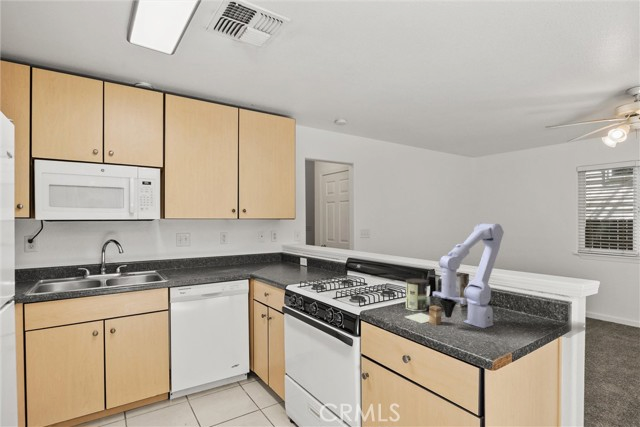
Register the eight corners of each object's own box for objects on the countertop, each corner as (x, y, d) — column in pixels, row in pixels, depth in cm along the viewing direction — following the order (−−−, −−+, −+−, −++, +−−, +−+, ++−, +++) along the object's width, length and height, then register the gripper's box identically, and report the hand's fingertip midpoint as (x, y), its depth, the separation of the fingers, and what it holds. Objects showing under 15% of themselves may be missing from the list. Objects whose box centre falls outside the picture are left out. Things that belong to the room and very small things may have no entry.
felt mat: (438, 319, 154) (438, 318, 154) (422, 323, 147) (422, 322, 147) (420, 313, 162) (420, 312, 162) (404, 317, 156) (404, 316, 156)
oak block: (441, 323, 148) (441, 307, 148) (435, 325, 146) (436, 308, 146) (434, 321, 151) (434, 305, 151) (429, 322, 149) (429, 306, 149)
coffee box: (457, 301, 183) (457, 271, 183) (468, 304, 179) (469, 273, 178) (448, 304, 177) (449, 273, 177) (460, 307, 173) (461, 275, 172)
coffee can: (425, 306, 174) (426, 278, 174) (427, 312, 164) (428, 283, 164) (404, 305, 176) (405, 277, 176) (405, 310, 166) (406, 281, 166)
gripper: (428, 282, 147) (427, 313, 147) (458, 289, 135) (458, 323, 135) (438, 280, 151) (438, 311, 151) (469, 287, 139) (468, 320, 139)
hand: (448, 316), depth 143 cm, fingers closed
